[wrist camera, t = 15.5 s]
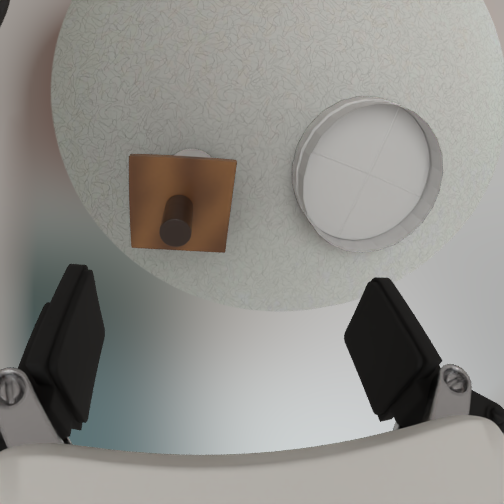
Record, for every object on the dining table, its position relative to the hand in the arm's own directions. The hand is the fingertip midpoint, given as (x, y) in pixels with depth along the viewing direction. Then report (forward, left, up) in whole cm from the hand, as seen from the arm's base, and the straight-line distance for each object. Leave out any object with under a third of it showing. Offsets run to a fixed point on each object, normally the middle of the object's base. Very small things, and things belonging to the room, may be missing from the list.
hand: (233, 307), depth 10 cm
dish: (+22, -4, -32) cm, 39 cm away
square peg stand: (-3, -8, -24) cm, 26 cm away
